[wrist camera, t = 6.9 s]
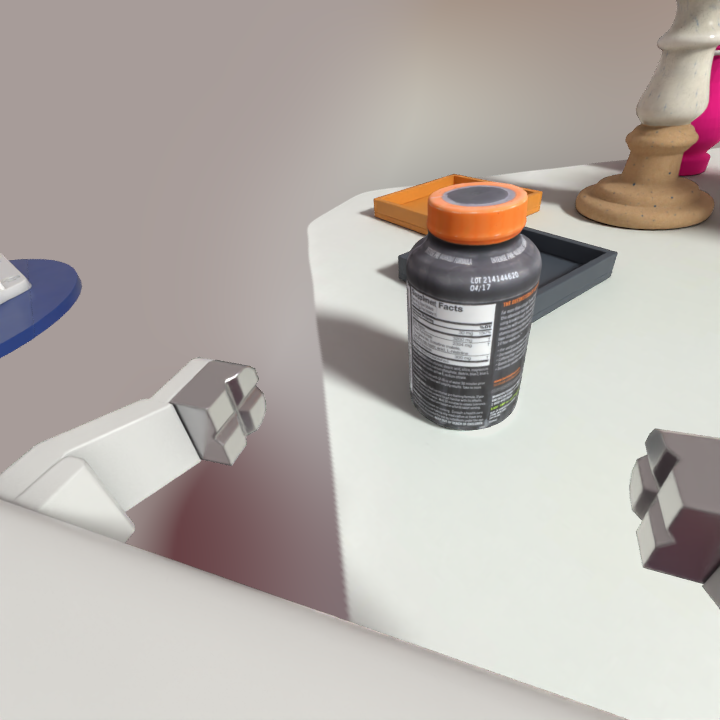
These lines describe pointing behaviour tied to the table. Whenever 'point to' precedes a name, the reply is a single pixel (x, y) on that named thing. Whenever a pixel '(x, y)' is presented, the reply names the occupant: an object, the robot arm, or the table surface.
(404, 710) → the robot arm
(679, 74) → the candle holder
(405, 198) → the amber tray
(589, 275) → the slate tray
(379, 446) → the table surface
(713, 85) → the pepper mill
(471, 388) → the pill bottle
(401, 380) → the table surface
